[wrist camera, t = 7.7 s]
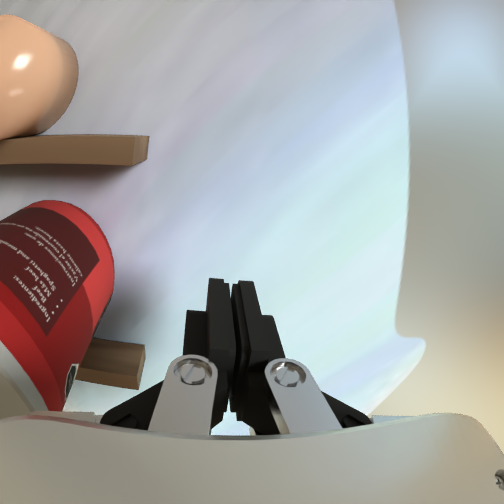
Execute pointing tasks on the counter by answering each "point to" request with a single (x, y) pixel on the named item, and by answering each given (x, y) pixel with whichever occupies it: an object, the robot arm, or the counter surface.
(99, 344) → the wooden u-shaped frame
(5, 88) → the peach egg shape
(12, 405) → the canned food
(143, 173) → the counter surface
